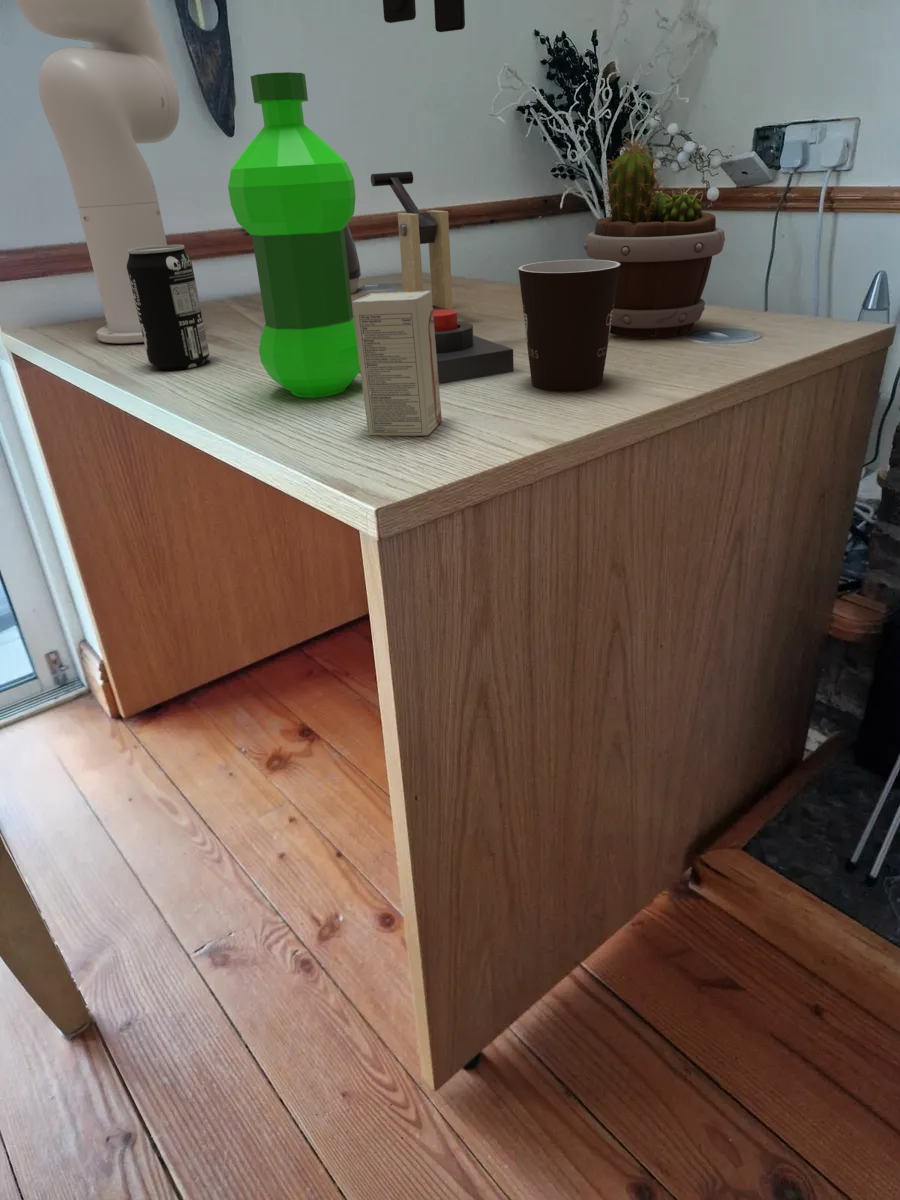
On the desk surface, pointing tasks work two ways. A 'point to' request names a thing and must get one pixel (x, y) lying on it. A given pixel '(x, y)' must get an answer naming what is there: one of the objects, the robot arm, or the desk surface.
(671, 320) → the flowerpot
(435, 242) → the lever bracket
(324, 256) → the plastic bottle
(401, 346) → the medicine carton
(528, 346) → the coffee mug
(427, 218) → the lever
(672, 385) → the desk surface
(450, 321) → the button
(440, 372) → the control block
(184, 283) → the beverage can
